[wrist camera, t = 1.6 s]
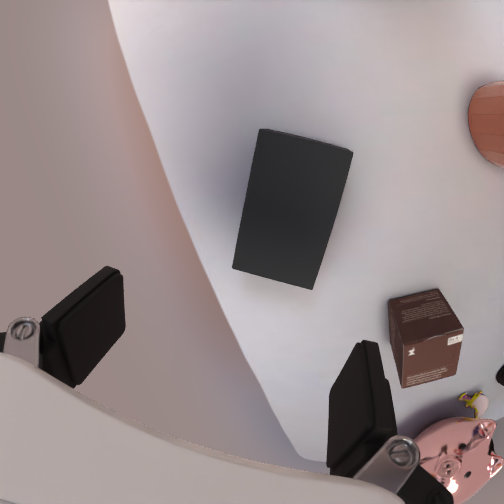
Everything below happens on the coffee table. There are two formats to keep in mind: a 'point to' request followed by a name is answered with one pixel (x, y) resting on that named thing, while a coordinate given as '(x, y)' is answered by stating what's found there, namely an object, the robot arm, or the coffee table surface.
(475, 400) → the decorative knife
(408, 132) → the coffee table surface
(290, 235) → the black rectangular block
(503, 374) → the chess piece
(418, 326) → the box
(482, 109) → the cup
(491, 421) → the piggy bank
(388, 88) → the coffee table surface
